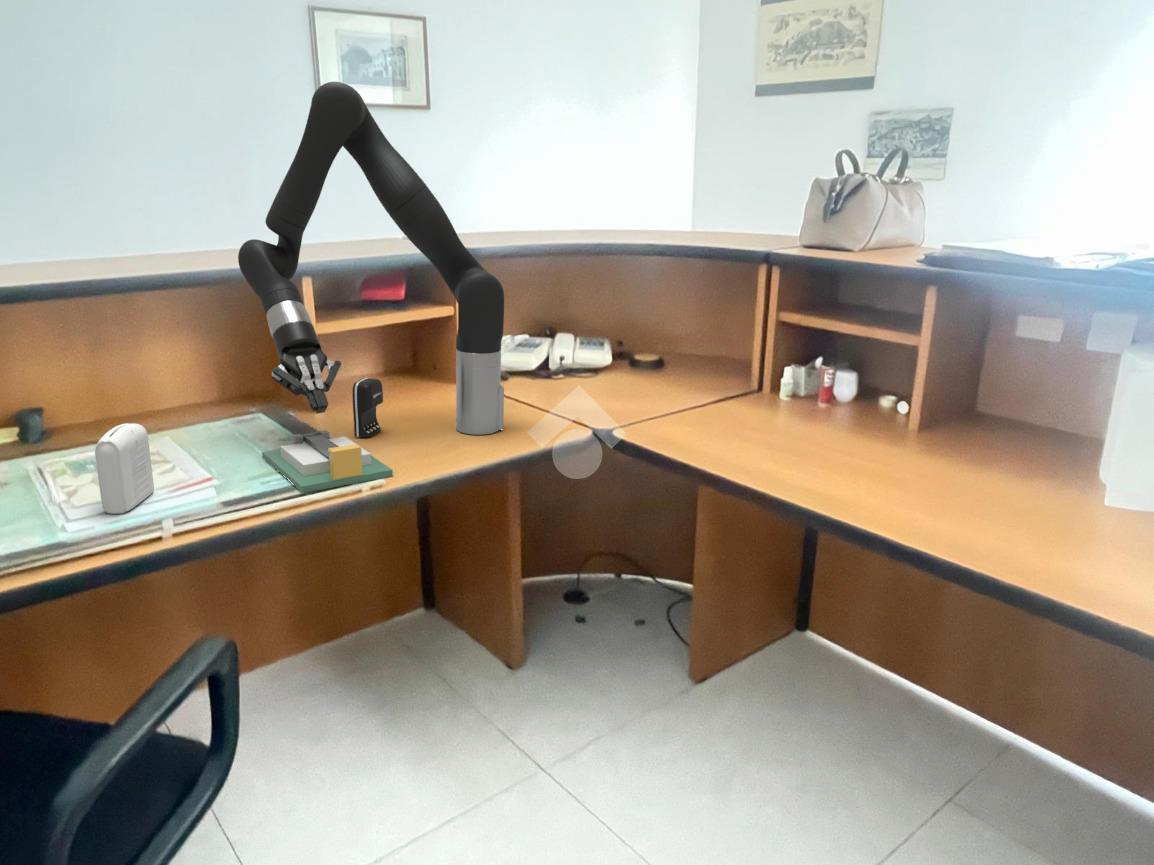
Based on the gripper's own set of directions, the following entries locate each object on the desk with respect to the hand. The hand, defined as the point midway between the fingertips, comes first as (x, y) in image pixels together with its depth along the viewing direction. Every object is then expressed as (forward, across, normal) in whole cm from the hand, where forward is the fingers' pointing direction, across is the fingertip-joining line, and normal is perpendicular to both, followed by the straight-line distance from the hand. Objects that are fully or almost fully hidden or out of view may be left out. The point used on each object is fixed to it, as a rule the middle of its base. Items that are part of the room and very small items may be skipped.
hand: (321, 410), depth 142 cm
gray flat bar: (+6, 0, +4) cm, 7 cm away
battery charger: (-2, +15, +17) cm, 22 cm away
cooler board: (+8, 0, +6) cm, 10 cm away
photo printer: (+8, -32, +6) cm, 33 cm away
